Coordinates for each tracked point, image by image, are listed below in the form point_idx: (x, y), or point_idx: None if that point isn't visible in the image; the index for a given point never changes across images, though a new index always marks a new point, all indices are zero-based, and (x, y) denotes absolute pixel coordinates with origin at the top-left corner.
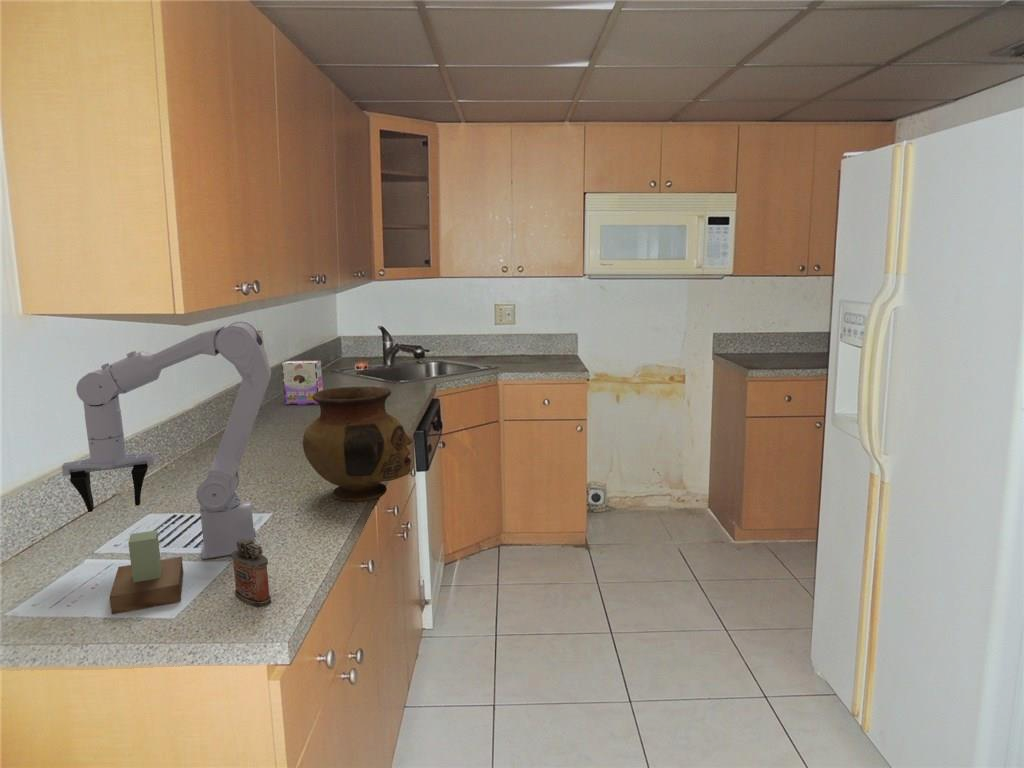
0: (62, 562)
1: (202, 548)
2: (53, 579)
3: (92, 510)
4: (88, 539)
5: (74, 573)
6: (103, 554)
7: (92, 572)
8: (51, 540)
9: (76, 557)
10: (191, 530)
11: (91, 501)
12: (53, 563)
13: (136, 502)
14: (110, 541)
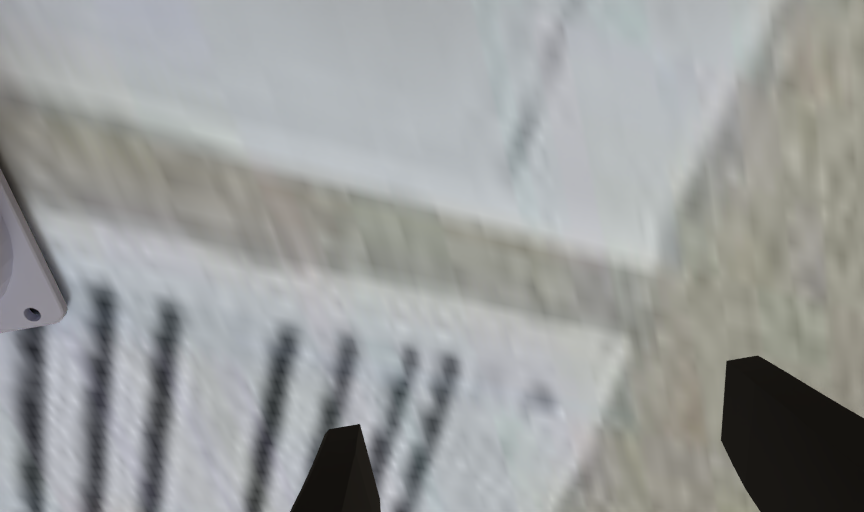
0: (762, 256)
1: (18, 229)
2: (786, 35)
3: (728, 378)
4: (680, 481)
5: (687, 92)
6: (582, 307)
7: (594, 78)
8: None
9: (704, 300)
10: (220, 493)
11: (773, 458)
12: (802, 254)
13: (343, 444)
14: (579, 444)
